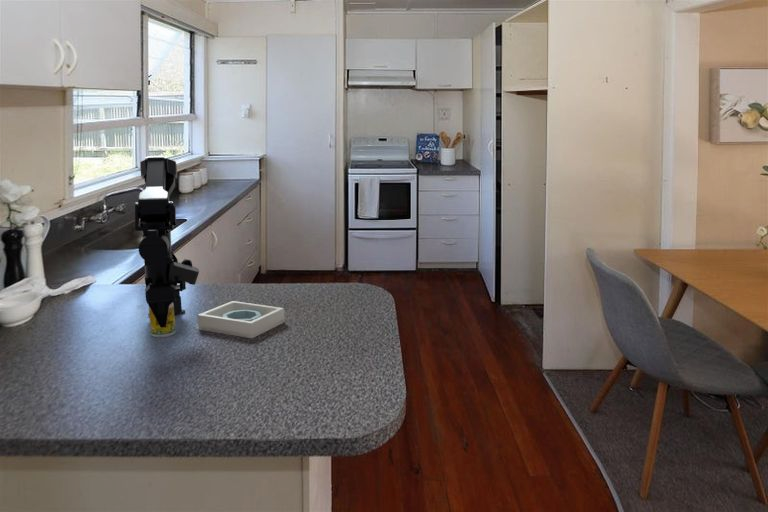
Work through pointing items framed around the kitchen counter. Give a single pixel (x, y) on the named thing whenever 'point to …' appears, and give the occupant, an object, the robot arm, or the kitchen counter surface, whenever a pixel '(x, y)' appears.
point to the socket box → (241, 319)
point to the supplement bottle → (170, 324)
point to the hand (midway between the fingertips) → (162, 321)
